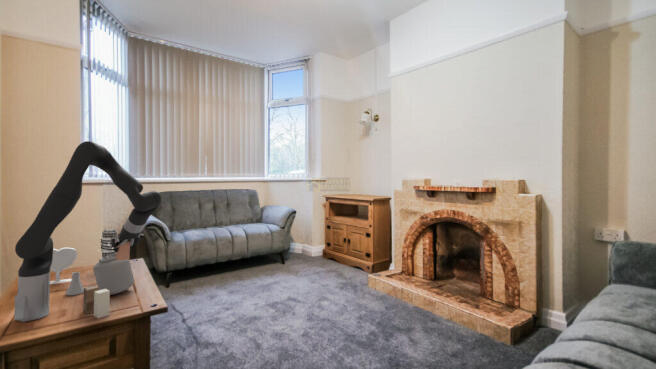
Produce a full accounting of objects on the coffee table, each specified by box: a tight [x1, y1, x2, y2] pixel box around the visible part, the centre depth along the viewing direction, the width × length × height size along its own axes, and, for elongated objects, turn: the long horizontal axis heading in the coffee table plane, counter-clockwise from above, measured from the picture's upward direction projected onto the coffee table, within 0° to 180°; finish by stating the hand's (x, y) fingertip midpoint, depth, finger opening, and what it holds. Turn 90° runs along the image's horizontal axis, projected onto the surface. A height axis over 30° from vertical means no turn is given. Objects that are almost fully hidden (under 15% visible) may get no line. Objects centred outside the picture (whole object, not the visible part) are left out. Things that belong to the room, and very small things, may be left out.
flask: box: [64, 271, 85, 296], centre depth 149 cm, size 7×7×10 cm
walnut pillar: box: [82, 285, 99, 315], centre depth 129 cm, size 4×4×10 cm
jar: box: [92, 244, 135, 296], centre depth 151 cm, size 19×15×25 cm
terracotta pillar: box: [116, 239, 131, 261], centre depth 140 cm, size 4×4×10 cm
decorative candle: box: [100, 228, 118, 258], centre depth 188 cm, size 9×9×25 cm
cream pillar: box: [93, 289, 111, 319], centre depth 126 cm, size 4×4×10 cm
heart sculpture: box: [50, 246, 78, 285], centre depth 164 cm, size 16×5×18 cm, turn 134°
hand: (121, 249), depth 141 cm, fingers closed on terracotta pillar, 4 cm apart
